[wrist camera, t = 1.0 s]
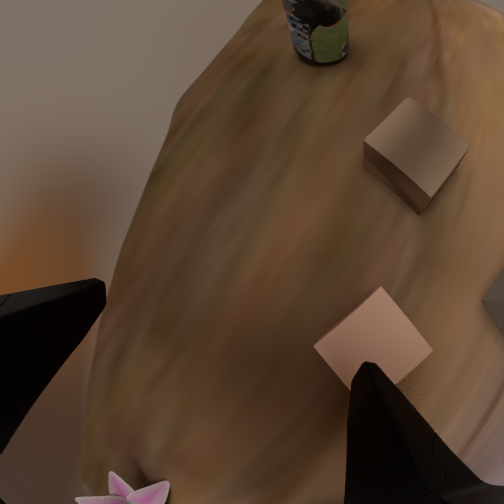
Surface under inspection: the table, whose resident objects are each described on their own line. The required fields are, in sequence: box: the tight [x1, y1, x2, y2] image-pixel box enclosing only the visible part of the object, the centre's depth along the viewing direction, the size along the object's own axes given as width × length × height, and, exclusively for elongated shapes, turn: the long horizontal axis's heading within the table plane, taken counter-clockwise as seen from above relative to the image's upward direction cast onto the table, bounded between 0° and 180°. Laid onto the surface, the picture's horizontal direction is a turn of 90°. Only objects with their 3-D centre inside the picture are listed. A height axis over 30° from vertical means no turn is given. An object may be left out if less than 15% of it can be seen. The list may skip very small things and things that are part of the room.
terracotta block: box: [313, 286, 433, 390], centre depth 15 cm, size 5×5×5 cm
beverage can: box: [282, 0, 348, 63], centre depth 17 cm, size 6×7×12 cm
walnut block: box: [363, 97, 470, 215], centre depth 17 cm, size 6×6×4 cm
